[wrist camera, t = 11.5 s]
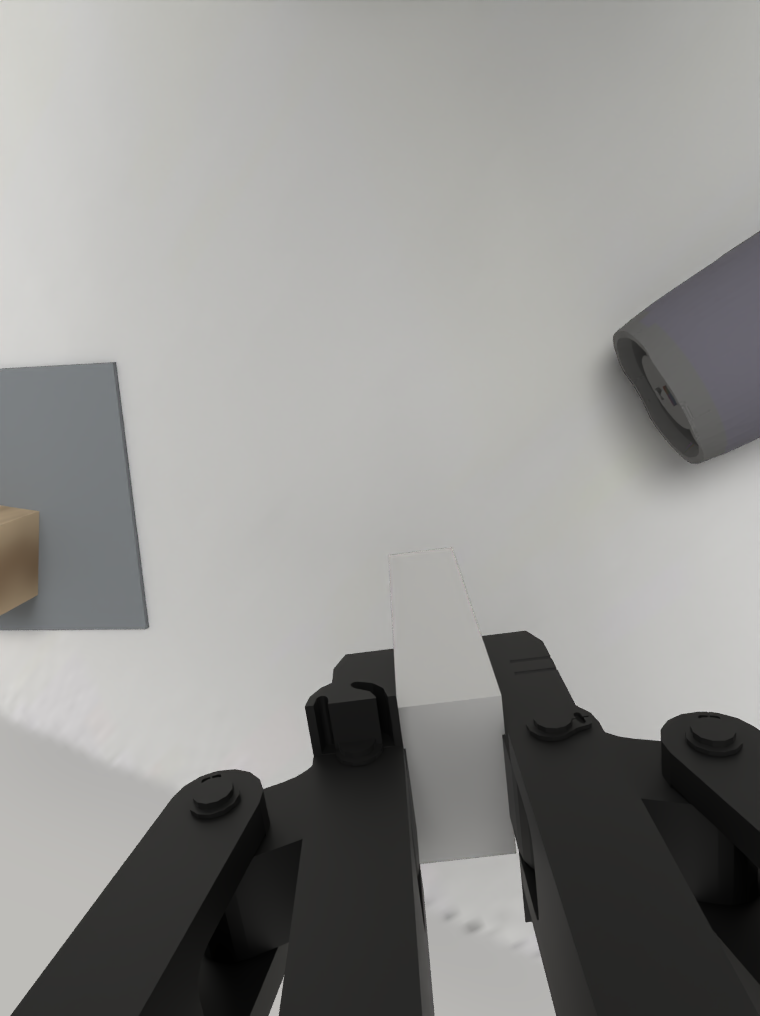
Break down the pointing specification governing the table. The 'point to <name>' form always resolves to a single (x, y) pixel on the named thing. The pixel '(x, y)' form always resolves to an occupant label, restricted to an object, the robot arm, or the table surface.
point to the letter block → (18, 556)
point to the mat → (72, 496)
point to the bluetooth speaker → (701, 357)
